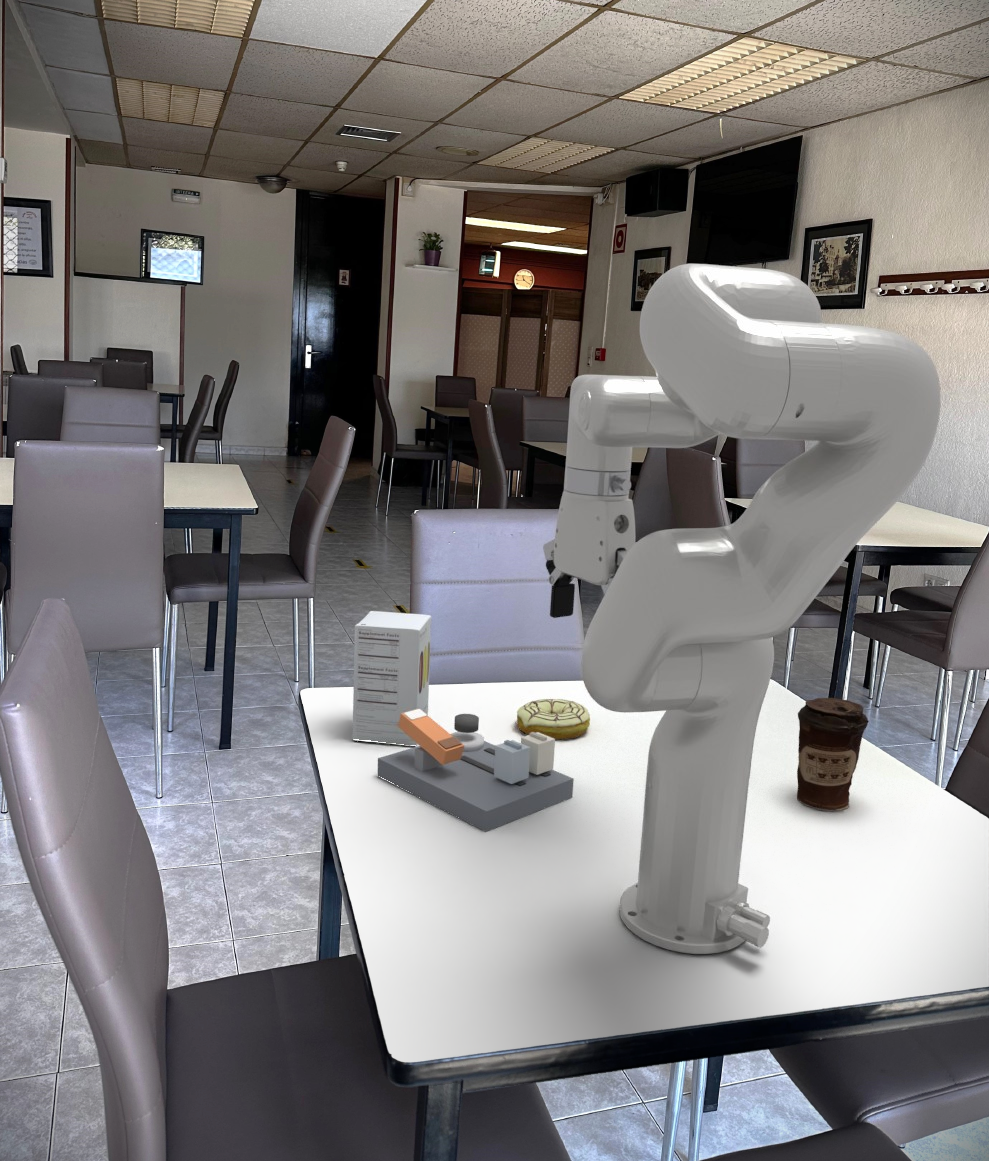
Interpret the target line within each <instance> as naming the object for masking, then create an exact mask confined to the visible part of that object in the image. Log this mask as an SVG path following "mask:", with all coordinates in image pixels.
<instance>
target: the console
mask: <svg viewBox="0 0 989 1161" xmlns="http://www.w3.org/2000/svg"><path fill="white" fill-rule="evenodd" d="M450 734H451V735H452V736H453V737H455V738H456V739H457V740H458V741H460V742H461V743H462V744H463V745H464V749H463V753H462V756H461V759H460V760H457V761H453V762H450V763H447V764H444V765H442V764H441V763H440V762H439V761H437V760H436V759H435V758H434V757H433V756H432V755H430V754H429V753H428V752H427V751H426V750H425V749H423V748H422V747H421V746H420V745H416V747H412V748H407V749H403V750H401V751H398V752H394V753H391V754H388V755H383V756H380V757H377V775H378V776H380V777H382V778H384V779H386V780H388V781H390V782H392V783H394V784H395V785H398V786H399V787H401V788H403V789H405V790H407V791H409V792H411V793H413V794H414V795H413V794H412V795H413V796H415V795H416V796H415V797H417V796H418V797H417V798H419V797H420V798H421V799H420V798H419V799H420V800H422V799H423V801H424V800H426V801H428V802H430V803H431V804H430V803H429V804H430V805H432V804H433V805H432V806H434V805H436V806H437V807H436V806H435V807H436V808H438V807H440V808H441V809H440V808H439V809H440V810H442V809H443V811H444V810H445V811H444V812H446V811H447V812H446V813H448V812H449V813H448V814H450V813H451V815H452V814H453V815H452V816H454V817H456V816H457V817H456V818H458V817H459V818H458V819H460V820H462V821H463V822H465V821H466V823H467V822H468V823H467V824H469V825H471V824H472V825H471V826H473V827H476V828H477V829H480V830H482V831H483V832H489V831H491V830H493V829H496V828H499V827H500V826H503V825H506V824H510V823H511V822H513V821H516V820H519V819H522V818H524V817H527V816H529V815H531V814H534V813H537V812H539V811H541V810H544V809H547V808H548V807H552V806H554V805H557V804H559V803H561V802H564V801H567V800H570V799H572V798H573V794H574V793H573V792H574V779H575V778H574V777H571V776H569V775H567V774H564V773H561V772H559V771H556V770H554V769H552V770H549V771H546V772H544V773H541V774H538V775H536V774H534V773H531V772H529V778H527V779H524V780H521V781H519V782H516V783H513V784H510V783H508V782H505V781H503V780H501V779H499V778H497V777H494V764H495V745H494V744H493V743H490V742H487V741H486V740H485V737H484V736H483V735H482V734H481V733H477V732H473V733H462V732H458V731H456V732H455V731H454V732H452V733H450ZM395 785H394V786H395ZM399 787H398V788H399ZM401 788H400V789H401ZM403 789H402V790H403ZM405 790H404V791H405ZM407 791H406V792H407ZM409 792H408V793H409ZM411 793H410V794H411ZM426 801H425V802H426ZM428 802H427V803H428Z"/></svg>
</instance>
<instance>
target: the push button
mask: <svg viewBox="0 0 989 1161" xmlns="http://www.w3.org/2000/svg"><path fill="white" fill-rule="evenodd" d="M479 721H480V717H479V716H477V715H476V714H472V713H459V714H457V715H455V716H454V723H453V724H454V728H453V729H454V730H455V731H456V732H462V733H473V732H475V733H477V732H478V731H479V726H480V725H479V723H480V722H479Z"/></svg>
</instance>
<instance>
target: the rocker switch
mask: <svg viewBox="0 0 989 1161" xmlns="http://www.w3.org/2000/svg"><path fill="white" fill-rule="evenodd" d="M398 727H399V728H400V729H401V730H402V731H404V732H405V733H406V734H407V735H408V736H409V737H411V738H412V739H413V740H414V741H415V742H416V743H417V745H418V746H421V747H422V748H423V749H425V750H426V751H427V752H428V753H429V754H430V755H432V756H433V757H434V758H435V759H436V760H437V761H439V762H440V763H441V764H442V765H444V764H447V763H450V762H453V761H457V760H460V759H461V756H462V753H463V749H464V745H463V744H462V743H461V742H460V741H458V740H457V739H456V738H455V737H453V736H452V735H451V734H452V733H450V732H448V731H447V730H446V729H445V728H443V727H442V726H441V725H440V724H438V723H437V722H436V721H435V720H434V719H432V717H430V716H429V714H428V715H427V714H425V713H424V712H423V711H422V710H421V709H416V710H412V711H408V712H404V713H401V715H400V720H399V724H398Z"/></svg>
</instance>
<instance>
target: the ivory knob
mask: <svg viewBox="0 0 989 1161" xmlns="http://www.w3.org/2000/svg"><path fill="white" fill-rule="evenodd" d="M520 743H521V744H524V745H526V746H529V747H530V760H529V772H531V773H534V774H536V775H538V774H541V773H544V772H546V771H549V770H554V766H555V765H554V763H555V747H556V739H554V738H551V737H549V736H546V735H544V734H541V733H539V732H536V733H535V732H531V733H530V735H528V734H526V735H525V736H521V737H520Z"/></svg>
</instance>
